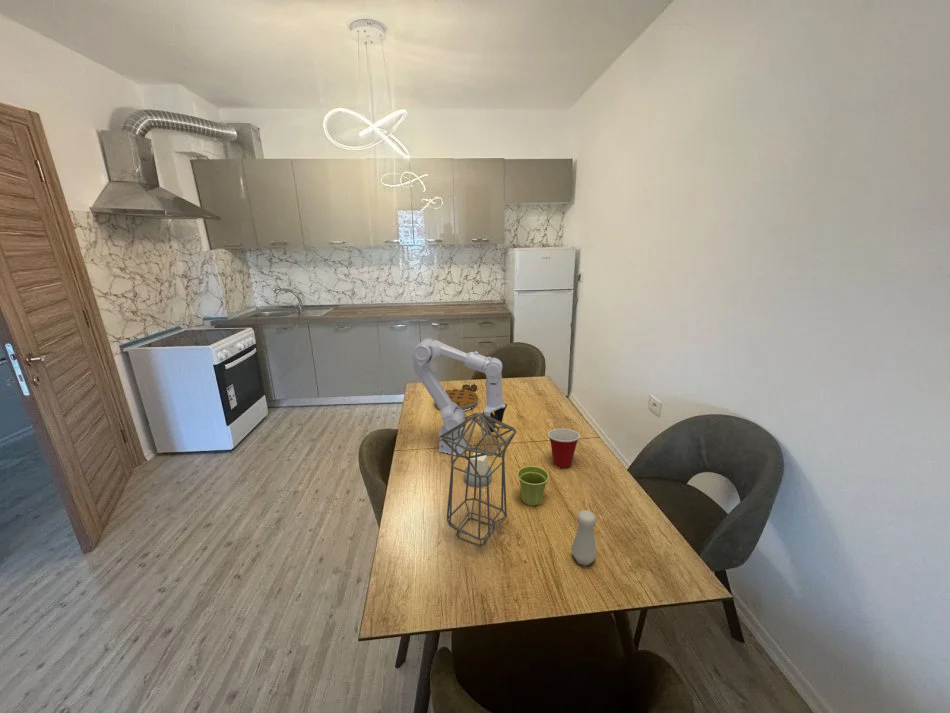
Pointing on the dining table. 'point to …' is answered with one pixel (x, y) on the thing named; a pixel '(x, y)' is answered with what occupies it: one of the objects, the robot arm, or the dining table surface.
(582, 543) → the salt shaker
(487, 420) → the geometric lantern
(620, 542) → the dining table surface
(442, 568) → the dining table surface
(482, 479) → the grey disc
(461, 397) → the pie
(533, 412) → the dining table surface
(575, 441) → the plastic cup
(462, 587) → the dining table surface
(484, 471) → the cream block
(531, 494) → the plant pot
